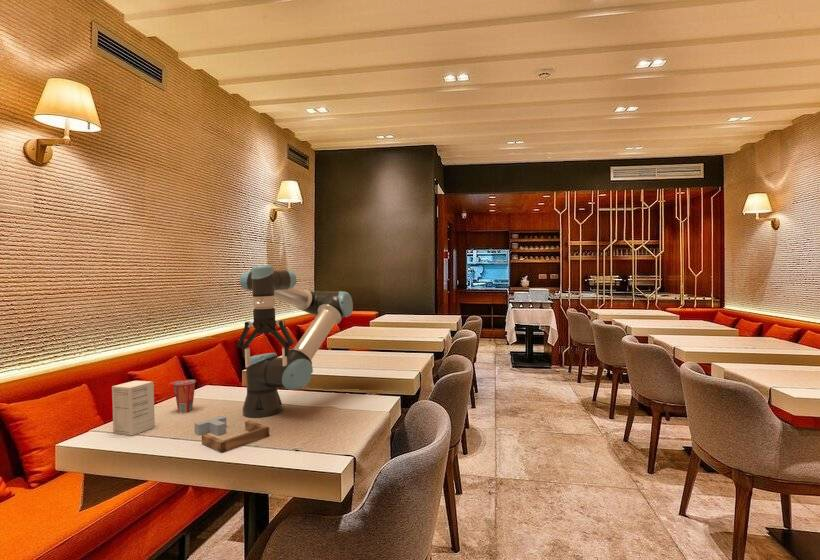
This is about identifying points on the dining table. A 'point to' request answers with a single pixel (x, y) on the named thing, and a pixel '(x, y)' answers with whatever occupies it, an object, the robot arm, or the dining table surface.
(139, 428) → the supplement box
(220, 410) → the dining table surface
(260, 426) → the dock
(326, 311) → the robot arm
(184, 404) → the cup
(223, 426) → the t block
